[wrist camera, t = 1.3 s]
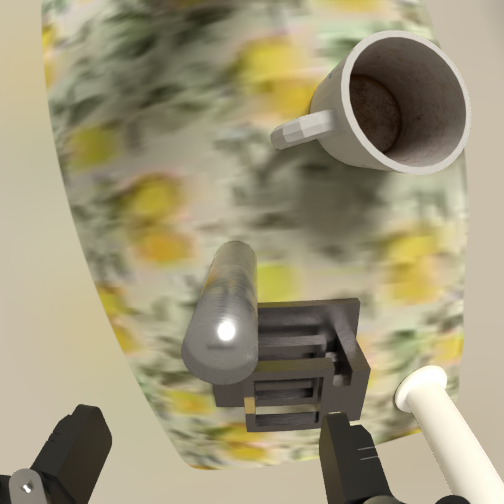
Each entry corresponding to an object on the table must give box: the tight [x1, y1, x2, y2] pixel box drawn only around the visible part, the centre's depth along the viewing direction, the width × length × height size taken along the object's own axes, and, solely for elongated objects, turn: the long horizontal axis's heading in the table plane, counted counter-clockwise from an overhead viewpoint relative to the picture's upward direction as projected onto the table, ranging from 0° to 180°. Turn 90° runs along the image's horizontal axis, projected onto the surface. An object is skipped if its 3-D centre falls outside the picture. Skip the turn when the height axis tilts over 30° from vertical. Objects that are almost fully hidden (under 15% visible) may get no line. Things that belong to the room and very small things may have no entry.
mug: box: [270, 30, 471, 175], centre depth 19 cm, size 12×9×10 cm
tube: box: [181, 241, 258, 385], centre depth 21 cm, size 4×4×14 cm
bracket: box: [213, 298, 371, 432], centre depth 27 cm, size 12×14×7 cm
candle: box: [395, 366, 504, 504], centre depth 20 cm, size 7×7×25 cm
